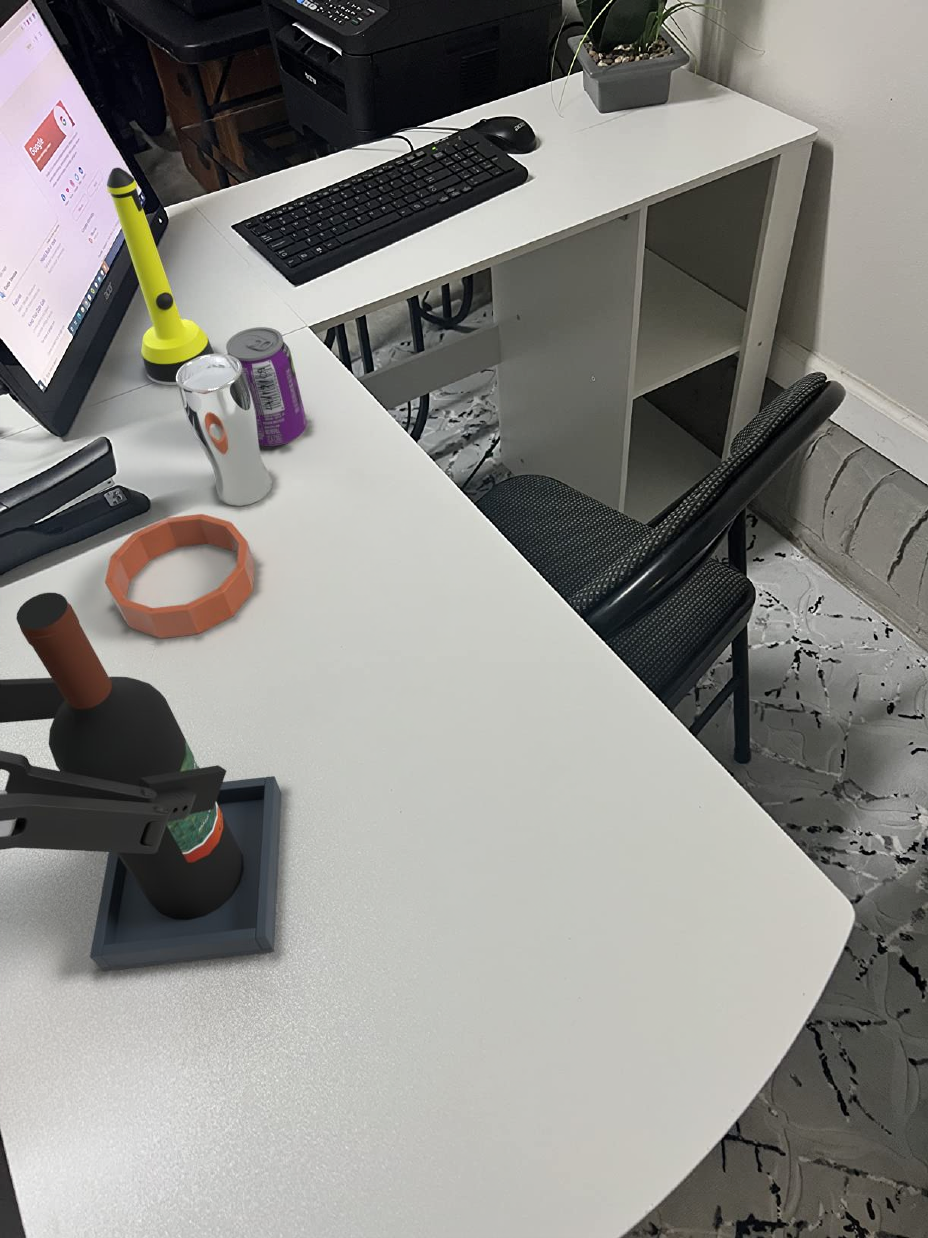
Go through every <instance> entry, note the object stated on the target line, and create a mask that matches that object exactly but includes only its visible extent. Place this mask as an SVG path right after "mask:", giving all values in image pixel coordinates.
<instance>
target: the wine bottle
mask: <svg viewBox="0 0 928 1238" xmlns="http://www.w3.org/2000/svg"><path fill="white" fill-rule="evenodd" d="M15 620H16V621H17V624H18V626H19V629H20V631H21V634H22V635H23V637H24V638H25V640H26V642H27V643H28V644H29V645H30V646H31V647H32V649H33V650H34V651H35V653H36V655H37V657H38V658H39V660H40V661H41V664H42V665H43V666H44V668H45V670H46V672H47V673H48V674H49V676H50V678H52V679H53V681H54V682H55V684H56V686H57V687H58V689H59V691H60V692H61V694H62V695H63V697H64V699H65V701H64V702H63V703H62V705H61V706H60V707H59V709H58V711H57V713H56V715H55V718H54V719H52V723H51V725H50V727H49V734H48V747H49V749H50V753H51V755H52V758H53V760H54V763H55V766H56V768H57V769H58V771H62V772H68V773H73V774H78V775H83V776H88V777H93V778H98V779H104V780H109V781H114V782H119V783H124V784H129V785H135V786H138V783H139V780H140V778H143V777H149V776H155V775H161V774H167V773H173V772H180V771H186V770H192V769H198V768H200V766H199V763H198V762H197V760H196V758H195V756H194V754H193V752H192V749H191V748H190V746H189V744H188V741H187V739H186V737H185V735H184V733H183V731H182V729H181V727H180V725H179V723H178V721H177V719H176V717H175V715H174V712H173V711H172V709H171V707H170V705H169V702H168V701H167V698H166V697H165V696H164V695H163V694H162V692H160V691H159V690H158V689H157V688H156V687H154V686H153V685H152V684H151V683H149V682H146V681H143V680H140V679H138V678H137V679H136V678H134V677H133V678H132V677H128V676H109V675H108V672H107V671H106V668H104V665H103V664H102V662H101V660H100V659H99V657H98V655H97V653H96V651H95V649H94V647H93V646H92V643H91V642H90V640H89V639H88V636H87V634H86V633H85V631H84V629H83V628H82V626H81V624H80V619H79V617H78V614H77V613H76V612H75V610H74V608H73V606H72V604H71V603H69V601H68V599H67V598H66V597H65V596H64V595H62V594H61V593H57V592H44V593H43V592H42V593H39V594H37V595H35V596H32V597H30V598H29V599H28V600H26V601H25V602H23V604H22V605H21V606H19V609H18V610H17V613H16V618H15ZM116 853H117V855H118V856H119V858H120V859H121V861H122V862H123V864H124V865H125V867H126V868H127V870H128V871H129V872H130V874H131V875H132V877H133V878H134V880H135V881H136V883H137V884H138V886H139V887H140V888H141V890H142V891H143V893H144V894H145V896H146V897H147V899H148V900H149V902H150V903H151V904H152V905H153V906H154V907H155V908H156V909H157V910H158V911H159V912H160V913H161V914H163V915H165V916H168V917H170V918H172V919H182V920H191V919H195V918H199V917H203V916H206V915H208V914H209V913H211V912H213V911H215V910H217V909H218V908H220V907H221V906H222V905H223V904H224V903H225V902H226V901H227V900H228V899H230V898H231V897H232V895H233V894H234V892H235V890H236V889H237V887H238V885H239V884H240V881H241V877H242V873H243V869H244V867H243V855H242V853H241V851H240V849H239V847H238V845H237V843H236V841H235V839H234V837H233V835H232V833H231V831H230V829H229V827H228V825H227V823H226V821H225V819H224V817H223V815H222V812H221V810H220V808H219V806H218V804H217V802H216V803H215V805H214V808H213V809H212V810H207V811H203V812H198V813H194V814H189V816H188V817H186V818H184V819H180V820H179V819H178V820H175V821H171V822H167V824H166V827H165V830H164V833H163V836H162V839H161V842H160V845H159V848H158V851H157V852H156V853H154V854H140V853H119V852H116Z"/></svg>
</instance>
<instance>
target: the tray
mask: <svg viewBox="0 0 928 1238" xmlns="http://www.w3.org/2000/svg"><path fill="white" fill-rule="evenodd" d="M216 802H217V804H218V806H219V808H220V810H221V812H222V815H223V817H224V819H225V821H226V823H227V825H228V827H229V829H230V831H231V833H232V835H233V837H234V839H235V841H236V843H237V845H238V847H239V849H240V851H241V853H242V855H243V867H244V869H243V873H242V877H241V881H240V884H239V885H238V887H237V889H236V890H235V892H234V894H233V895H232V897H231V898H230V899H228V900H227V901H226V902H225V903H224V904H223V905H222V906H221V907H220V908H218V909H217V910H215V911H213V912H211V913H209V914H208V915H206V916H203V917H199V918H195V919H191V920H182V919H172V918H170V917H168V916H165V915H163V914H161V913H160V912H159V911H158V910H157V909H156V908H155V907H154V906H153V905H152V904H151V903H150V902H149V900H148V899H147V897H146V896H145V894H144V893H143V891H142V890H141V888H140V887H139V886H138V884H137V883H136V881H135V880H134V878H133V877H132V875H131V874H130V872H129V871H128V870H127V868H126V867H125V865H124V864H123V862H122V861H121V859H120V858H119V856H118V855H117V853H116V852H108V855H107V860H106V866H105V871H104V876H103V882H102V888H101V892H100V893H101V894H100V899H99V905H98V911H97V916H96V922H95V926H94V932H93V938H92V944H91V949H90V955H89V957H90V959H91V960H92V961H93V962H94V963H95V965H96V966H97V967H98V968H99V970H101V971H102V972H108V971H109V972H110V971H117V970H126V969H135V968H145V967H152V966H161V965H169V964H180V963H189V962H196V961H204V960H213V959H222V958H229V957H238V956H247V955H257V954H265V953H273V952H274V951H275V938H276V937H275V936H276V916H277V896H278V877H279V876H278V875H279V855H280V854H279V853H280V835H281V834H280V831H281V813H282V812H281V811H282V810H281V809H282V808H281V807H282V791H281V789H280V787H279V784H278V781H277V778H276V776H274V775H271V776H266V777H265V776H263V777H254V778H245V779H244V778H243V779H237V780H226V781H223V783H222V785H221V788H220V791H219V794H218V797H217V800H216Z"/></svg>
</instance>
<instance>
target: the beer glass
mask: <svg viewBox="0 0 928 1238" xmlns="http://www.w3.org/2000/svg"><path fill="white" fill-rule="evenodd" d="M176 381H177V383H178V385H177V387H178V390H179V395H180V399H181V404H182V406H183V407H182V408H183V410H184V414H185V416H186V419H187V422H188V424H189V427H190V429H191V431H192V433H193V435H194V437H195V440H196V441H197V442H198V444H199V446H200V447H201V449H202V451H203V452H204V454H205V457H206V458H207V460H208V461H209V463H210V465H211V467H212V468H211V469H212V470H213V474H214V479H215V489H216V494H217V496H218V497H217V498H219V500H220V501H222V502H223V503H224V504H225V505H231V506H234V507H235V506H237V507H241V506H243V507H244V506H249V505H252V504H255V503H257V502H259V501H261V500H262V499H264V498H265V497H266V496H267V495H268V494H269V493H270V491H271V489H272V486H273V481H272V477H271V474H270V473H269V471H268V469H267V467H266V465H265V464H264V462H263V458H262V455H261V449H260V445H259V435H258V422H257V414H256V408H255V404H254V400H253V396H252V393H251V390H250V387H249V384H248V382H247V379H246V376H245V374H244V371H243V368H242V365H241V362H240V361H239V360H238V359H237V358H235V357H233V356H231V355H228V353H227V354H226V353H214V354H209V355H204V356H200V357H197V358H195V359H193V360H191V361H189V362H187V363H186V364H184V365H183V366H182V367H181V368H180V369H179V371H178V373H177V375H176Z"/></svg>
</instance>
